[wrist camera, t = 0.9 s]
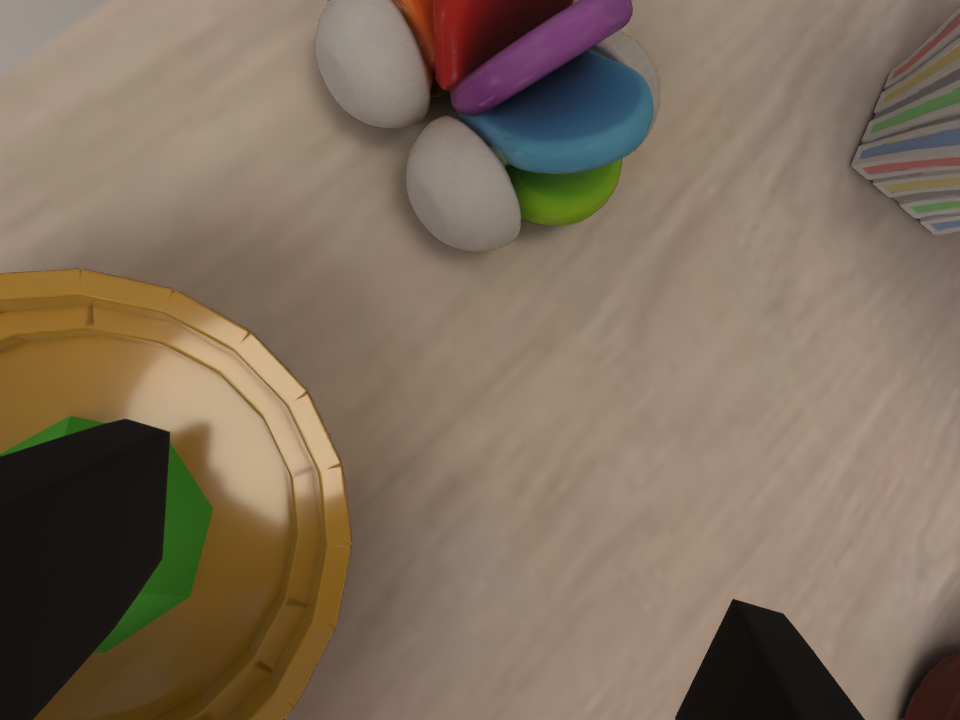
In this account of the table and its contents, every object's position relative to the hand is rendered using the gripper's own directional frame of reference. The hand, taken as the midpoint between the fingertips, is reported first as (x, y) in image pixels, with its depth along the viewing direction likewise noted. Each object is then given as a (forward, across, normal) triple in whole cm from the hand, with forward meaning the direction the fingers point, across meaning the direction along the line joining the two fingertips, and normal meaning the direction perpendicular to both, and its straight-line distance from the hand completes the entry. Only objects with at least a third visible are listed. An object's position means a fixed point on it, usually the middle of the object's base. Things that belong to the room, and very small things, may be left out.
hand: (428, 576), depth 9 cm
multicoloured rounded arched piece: (+17, +3, -4) cm, 18 cm away
